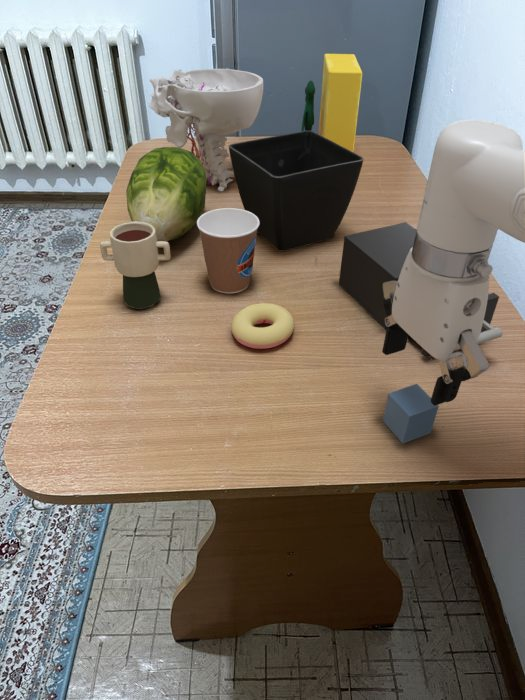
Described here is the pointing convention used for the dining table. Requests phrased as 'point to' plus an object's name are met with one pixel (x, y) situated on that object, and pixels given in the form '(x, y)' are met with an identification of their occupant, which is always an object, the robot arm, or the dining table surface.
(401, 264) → the dark grey drawer cabinet
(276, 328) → the donut
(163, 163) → the lettuce
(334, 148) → the flower pot
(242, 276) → the coffee cup
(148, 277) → the character mug
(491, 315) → the dark grey drawer
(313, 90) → the yellow and green pieces
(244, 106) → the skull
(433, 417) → the block
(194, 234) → the dining table surface
